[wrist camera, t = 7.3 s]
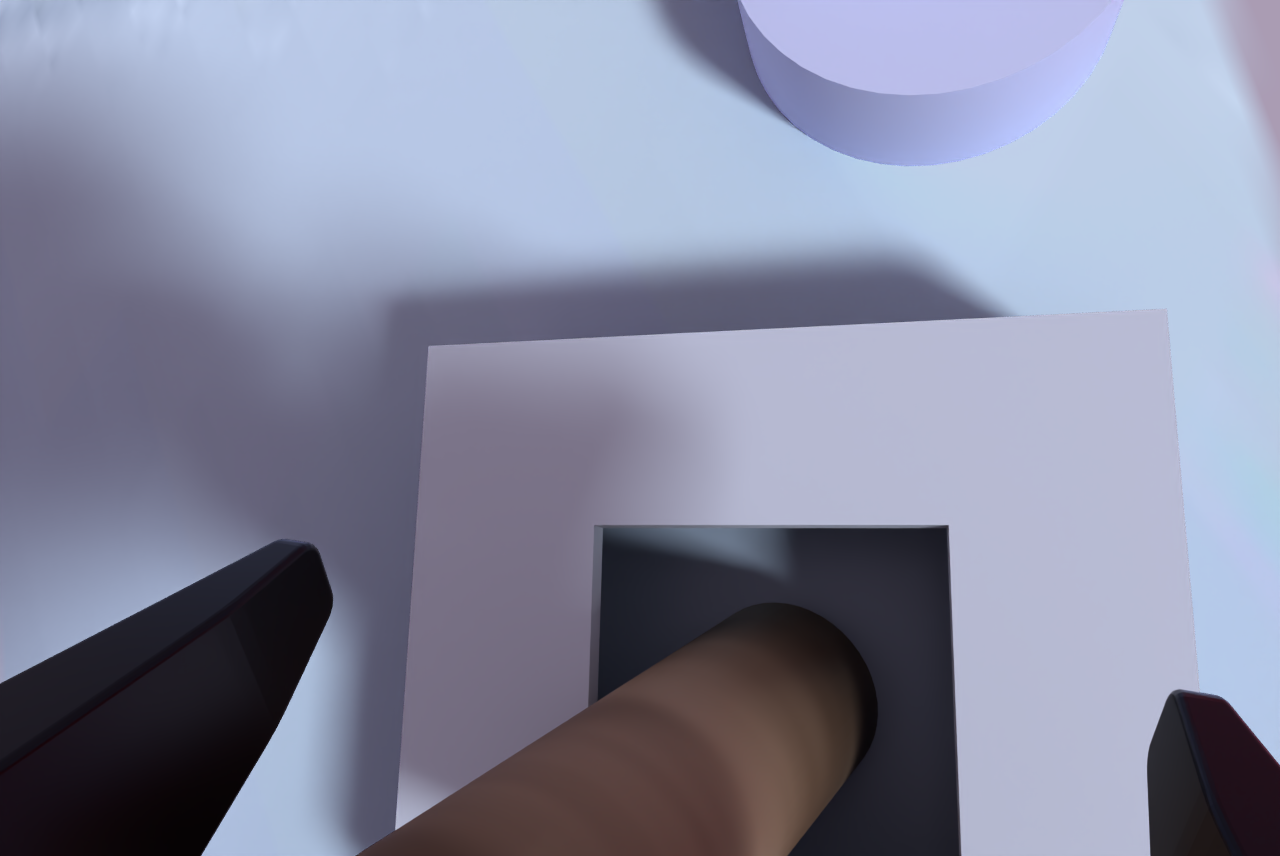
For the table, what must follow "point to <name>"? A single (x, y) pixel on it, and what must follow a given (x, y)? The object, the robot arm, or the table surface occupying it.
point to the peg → (678, 755)
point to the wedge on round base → (923, 70)
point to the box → (823, 555)
